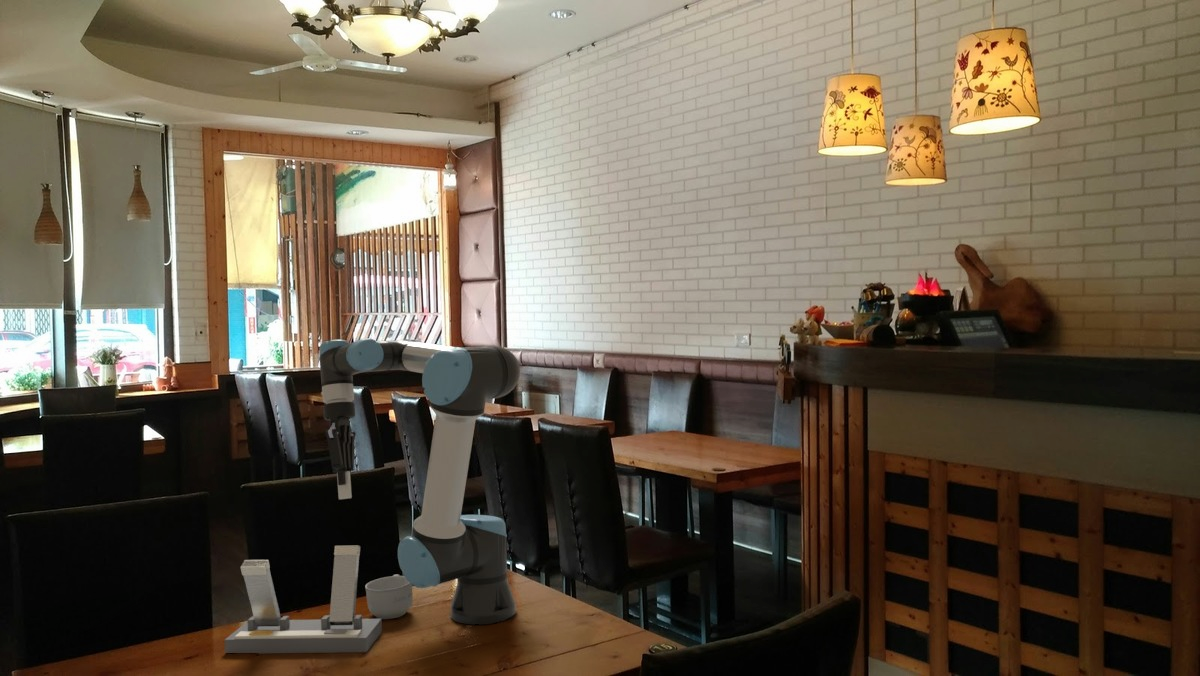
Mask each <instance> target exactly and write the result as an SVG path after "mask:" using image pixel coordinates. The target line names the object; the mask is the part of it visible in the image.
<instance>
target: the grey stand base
mask: <svg viewBox="0 0 1200 676" xmlns="http://www.w3.org/2000/svg"><path fill="white" fill-rule="evenodd" d="M329 618H330V614H329V615H328V614H327V615H326V614H325V615H323V616H322V618H321V619H290V615H283V616H282V617H281V619H280V626H261V627H258V626H257V625H256V624H255V620H254V616H253V615H252V616H250V617H249V618H247V621H246V622H245V623H243V624H242V625H241V626H240V627H238V628H237V629H236V630H234V632H232V633H231V634H229V636H227V637H226V638H225V639H224V654H225V653H258V654H312V653H313V654H315V653H316V654H323V653H324V654H325V653H326V654H327V653H328V654H329V653H367V652H368V651H369V650H370V648H371V646H372V645H374V643H375V642H376V640H377V639H378V638H379V636H380V635H381V634H382V633H383V623H382V620H383V619H379V618H363V614H356V615H355V617H354V618H353V625H336V626H331V625H330V622H329Z"/></svg>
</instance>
